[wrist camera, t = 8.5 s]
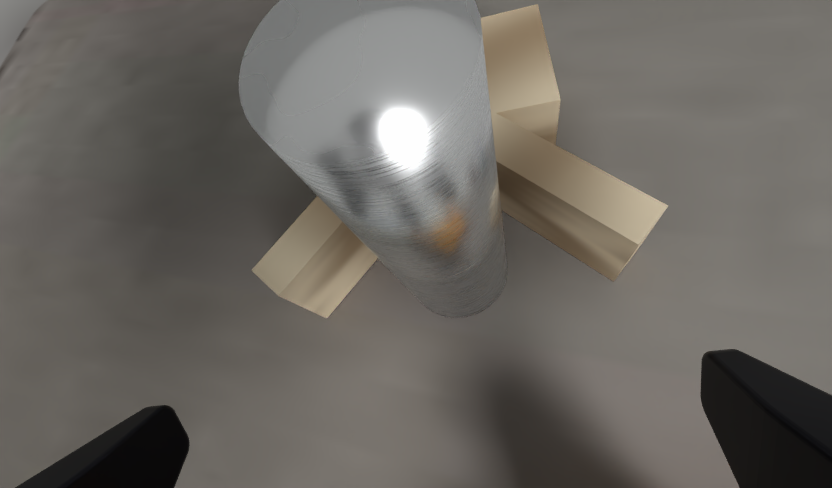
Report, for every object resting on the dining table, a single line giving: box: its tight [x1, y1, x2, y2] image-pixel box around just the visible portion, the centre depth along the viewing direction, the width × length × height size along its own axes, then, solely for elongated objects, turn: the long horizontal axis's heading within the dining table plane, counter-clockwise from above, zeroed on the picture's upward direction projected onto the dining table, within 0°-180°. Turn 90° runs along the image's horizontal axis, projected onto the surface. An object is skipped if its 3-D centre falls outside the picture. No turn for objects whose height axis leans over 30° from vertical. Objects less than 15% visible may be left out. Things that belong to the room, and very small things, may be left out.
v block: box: [252, 4, 668, 318], centre depth 17 cm, size 10×13×4 cm
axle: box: [239, 0, 508, 318], centre depth 12 cm, size 4×4×12 cm
